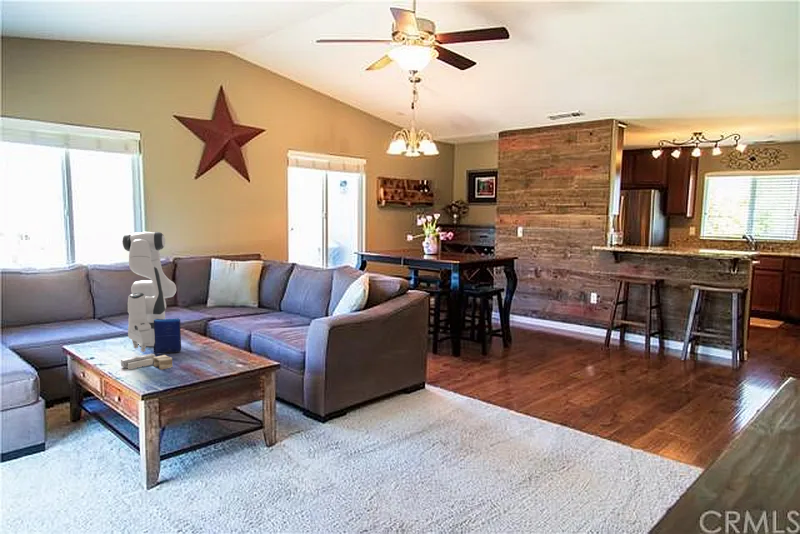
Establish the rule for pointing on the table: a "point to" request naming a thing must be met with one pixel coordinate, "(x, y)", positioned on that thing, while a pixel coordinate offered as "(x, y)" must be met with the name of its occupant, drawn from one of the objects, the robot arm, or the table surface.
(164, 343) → the book
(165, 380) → the table surface
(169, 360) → the tan wooden block
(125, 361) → the bar
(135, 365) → the cradle
